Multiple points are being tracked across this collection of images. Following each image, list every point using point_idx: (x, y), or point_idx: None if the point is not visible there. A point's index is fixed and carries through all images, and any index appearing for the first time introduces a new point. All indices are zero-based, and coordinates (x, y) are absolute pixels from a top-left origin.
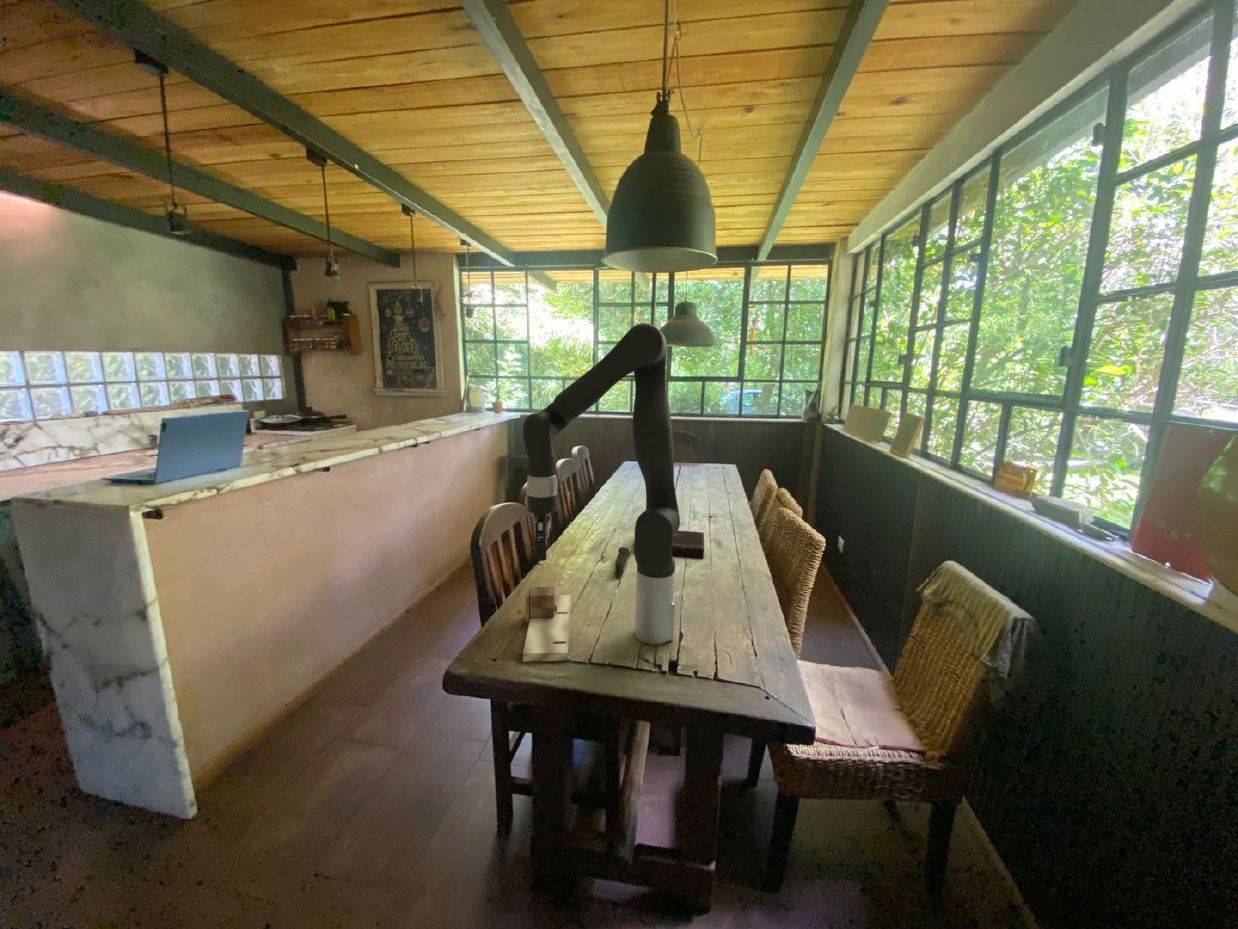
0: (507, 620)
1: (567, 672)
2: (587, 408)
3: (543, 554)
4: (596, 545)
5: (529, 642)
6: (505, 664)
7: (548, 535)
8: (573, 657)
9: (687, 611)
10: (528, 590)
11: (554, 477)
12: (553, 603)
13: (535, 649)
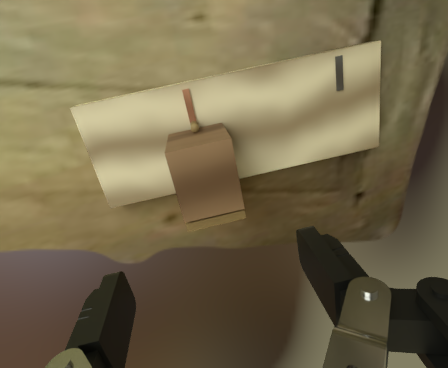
0: (215, 227)
1: (410, 31)
2: None
3: (346, 254)
4: None
5: (337, 146)
6: (374, 171)
7: (363, 338)
8: (355, 29)
9: None
10: (204, 224)
11: None
12: (227, 132)
13: (364, 124)
